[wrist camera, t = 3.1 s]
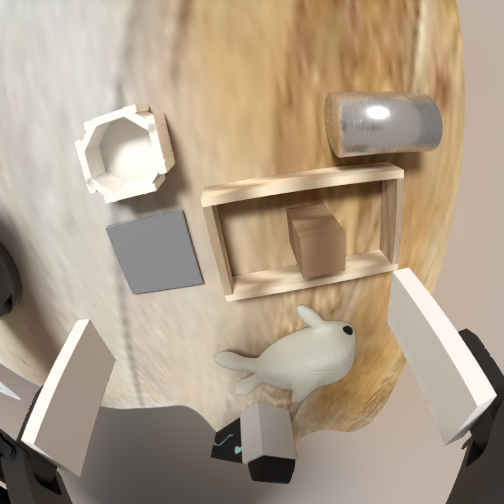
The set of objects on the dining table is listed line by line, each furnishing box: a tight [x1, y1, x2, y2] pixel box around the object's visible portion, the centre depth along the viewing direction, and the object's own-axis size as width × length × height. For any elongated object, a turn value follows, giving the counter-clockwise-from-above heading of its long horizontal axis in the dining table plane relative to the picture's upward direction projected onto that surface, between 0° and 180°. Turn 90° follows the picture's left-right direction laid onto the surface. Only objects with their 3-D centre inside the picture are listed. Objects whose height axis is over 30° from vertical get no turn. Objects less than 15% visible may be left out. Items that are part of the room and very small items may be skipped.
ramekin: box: [75, 104, 175, 203], centre depth 24 cm, size 8×8×4 cm
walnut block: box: [286, 203, 346, 279], centre depth 28 cm, size 4×4×7 cm
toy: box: [214, 305, 356, 404], centre depth 36 cm, size 17×19×10 cm
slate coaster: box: [106, 209, 203, 294], centre depth 32 cm, size 9×9×1 cm
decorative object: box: [211, 401, 297, 484], centre depth 45 cm, size 8×18×15 cm, turn 144°
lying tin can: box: [324, 92, 442, 157], centre depth 23 cm, size 10×6×6 cm, turn 99°
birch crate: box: [201, 162, 404, 301], centre depth 30 cm, size 20×12×4 cm, turn 99°
